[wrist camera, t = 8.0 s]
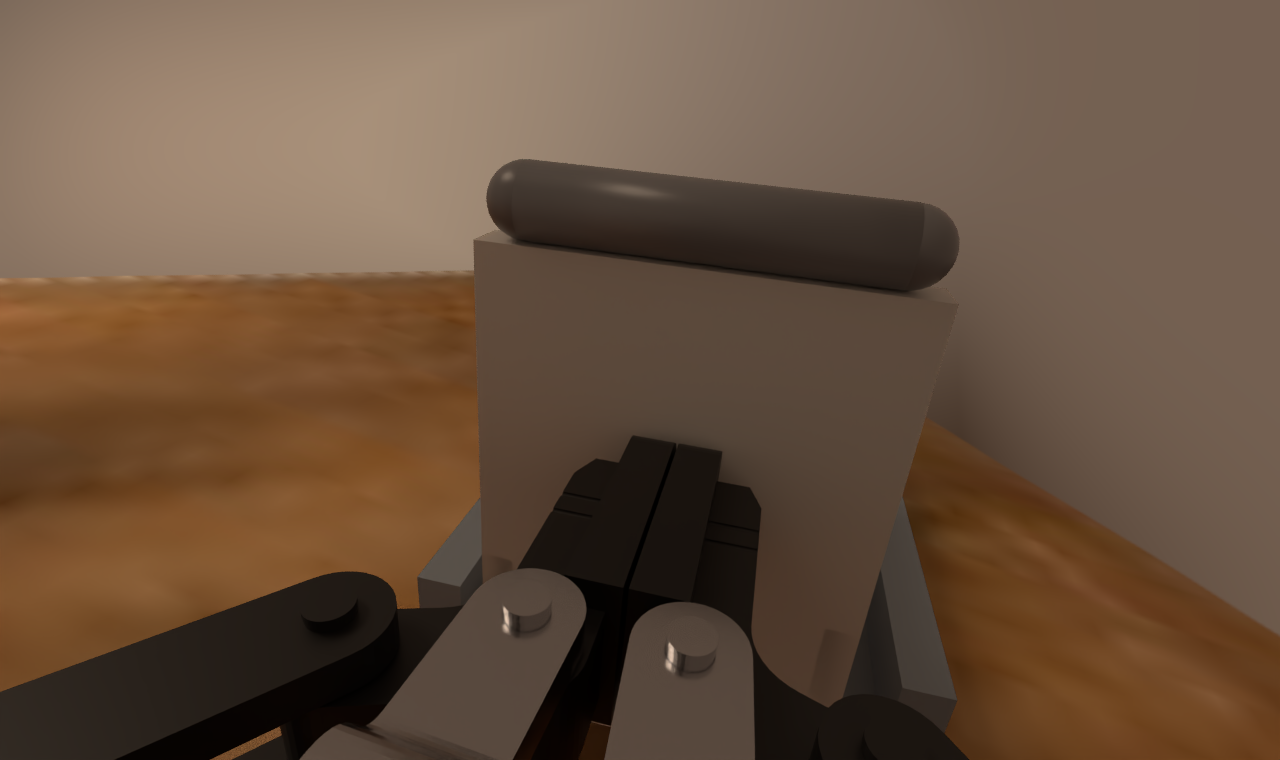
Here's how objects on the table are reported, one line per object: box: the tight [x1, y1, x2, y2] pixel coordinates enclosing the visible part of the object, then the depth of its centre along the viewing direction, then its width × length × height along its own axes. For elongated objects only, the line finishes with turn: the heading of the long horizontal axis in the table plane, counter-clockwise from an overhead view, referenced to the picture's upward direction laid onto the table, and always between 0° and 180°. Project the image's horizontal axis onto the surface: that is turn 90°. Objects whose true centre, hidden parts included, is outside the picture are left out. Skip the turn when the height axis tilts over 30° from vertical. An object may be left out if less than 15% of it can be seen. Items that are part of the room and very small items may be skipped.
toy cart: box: [474, 159, 959, 727], centre depth 16 cm, size 7×10×13 cm
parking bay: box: [417, 497, 957, 733], centre depth 21 cm, size 13×14×8 cm
